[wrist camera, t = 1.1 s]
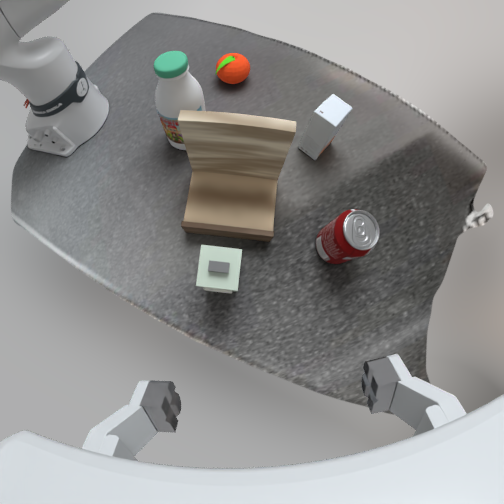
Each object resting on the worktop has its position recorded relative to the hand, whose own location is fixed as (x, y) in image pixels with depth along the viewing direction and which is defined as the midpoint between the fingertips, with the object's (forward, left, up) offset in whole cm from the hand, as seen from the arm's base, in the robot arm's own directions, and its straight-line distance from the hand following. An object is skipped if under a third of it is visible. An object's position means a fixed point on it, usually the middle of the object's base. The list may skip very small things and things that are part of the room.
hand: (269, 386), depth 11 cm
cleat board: (-4, +19, -35) cm, 40 cm away
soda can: (+14, +14, -35) cm, 40 cm away
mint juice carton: (-4, +7, -35) cm, 36 cm away
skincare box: (+10, +33, -35) cm, 49 cm away
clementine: (-8, +47, -35) cm, 59 cm away
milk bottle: (-14, +32, -35) cm, 49 cm away
